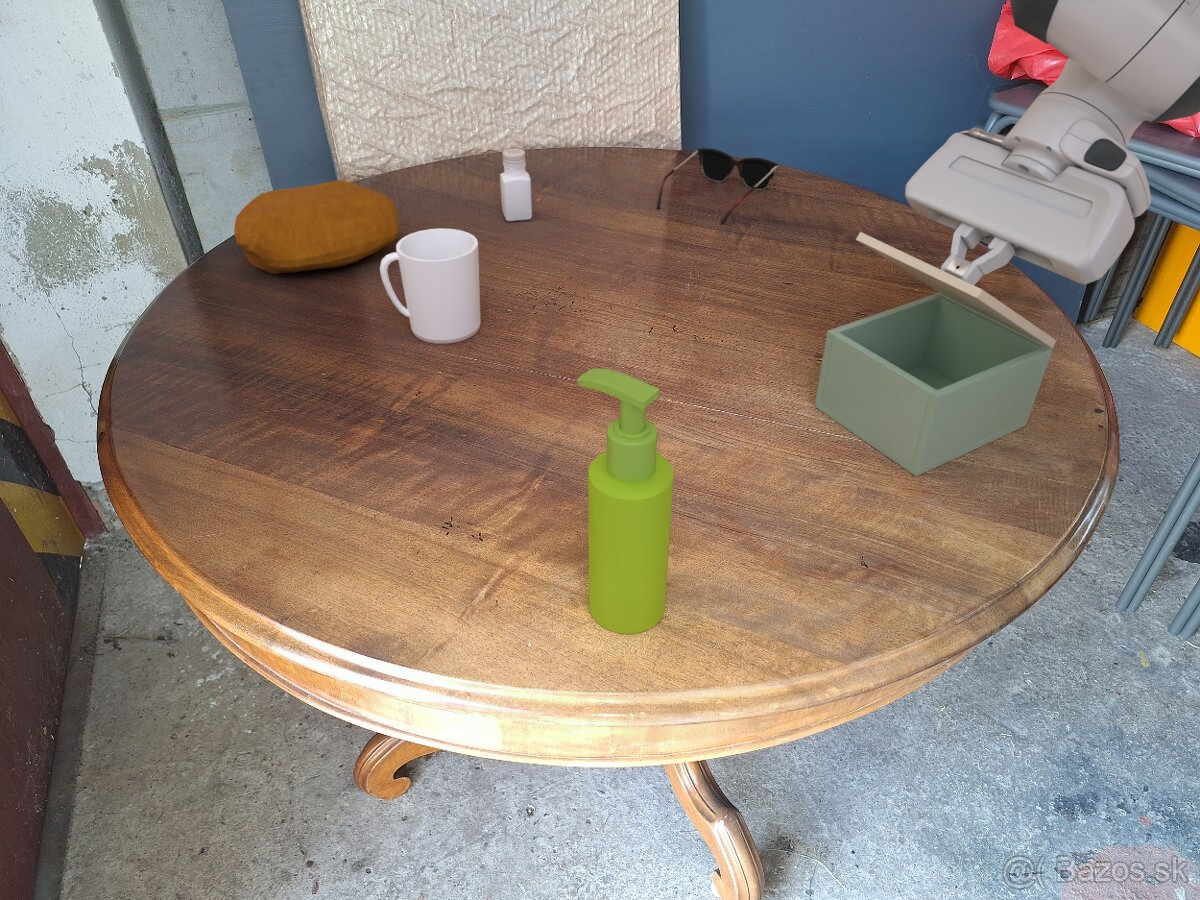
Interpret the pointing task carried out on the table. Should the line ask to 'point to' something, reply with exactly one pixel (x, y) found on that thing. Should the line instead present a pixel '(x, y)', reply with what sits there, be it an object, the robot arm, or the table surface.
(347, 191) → the bread
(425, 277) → the mug
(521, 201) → the salt shaker
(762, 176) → the sunglasses
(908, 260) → the lid
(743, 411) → the table surface
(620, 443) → the soap dispenser
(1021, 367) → the green open box
